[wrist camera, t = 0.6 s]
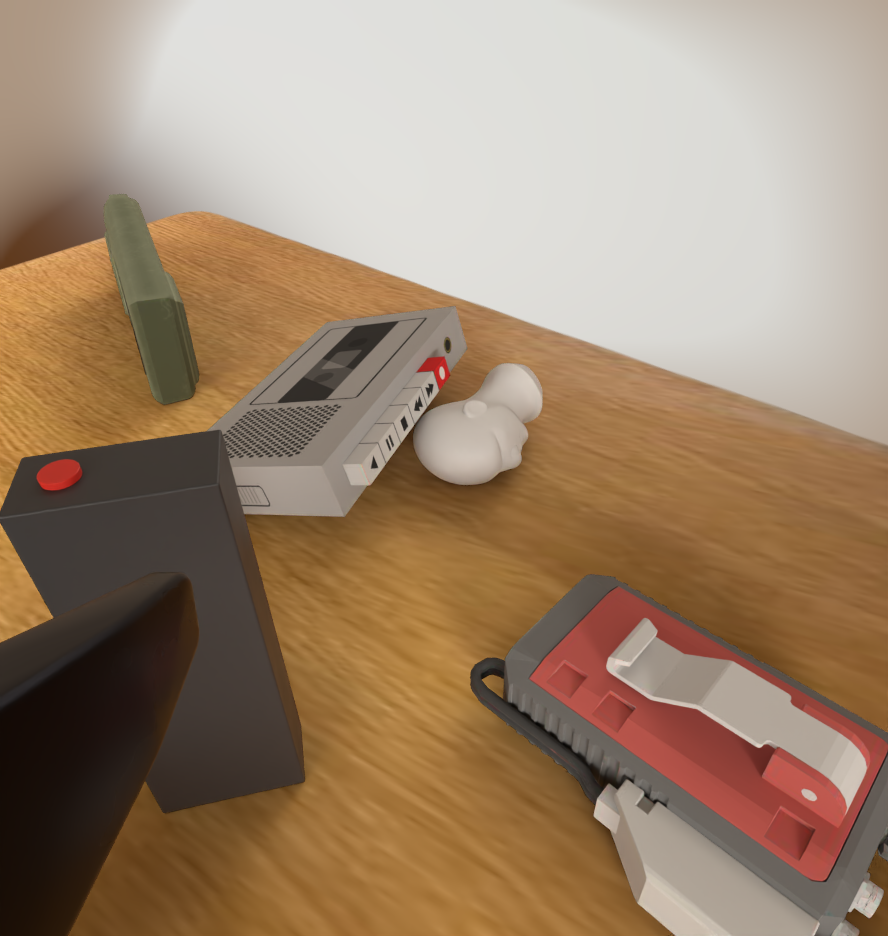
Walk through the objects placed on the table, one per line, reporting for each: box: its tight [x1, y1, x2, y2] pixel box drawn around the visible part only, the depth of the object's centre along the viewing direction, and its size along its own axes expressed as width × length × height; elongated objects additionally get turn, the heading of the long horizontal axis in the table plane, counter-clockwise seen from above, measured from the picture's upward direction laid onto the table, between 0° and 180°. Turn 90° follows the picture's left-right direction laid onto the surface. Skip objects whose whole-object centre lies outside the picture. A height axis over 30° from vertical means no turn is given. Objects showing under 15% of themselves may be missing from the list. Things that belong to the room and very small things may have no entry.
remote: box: [0, 430, 305, 813], centre depth 20 cm, size 2×5×13 cm, turn 103°
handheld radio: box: [104, 194, 199, 405], centre depth 50 cm, size 7×3×25 cm
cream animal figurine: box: [413, 363, 542, 485], centre depth 36 cm, size 4×8×5 cm
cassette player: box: [207, 306, 467, 517], centre depth 37 cm, size 16×3×10 cm
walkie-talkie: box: [470, 574, 888, 936], centre depth 21 cm, size 9×4×20 cm
